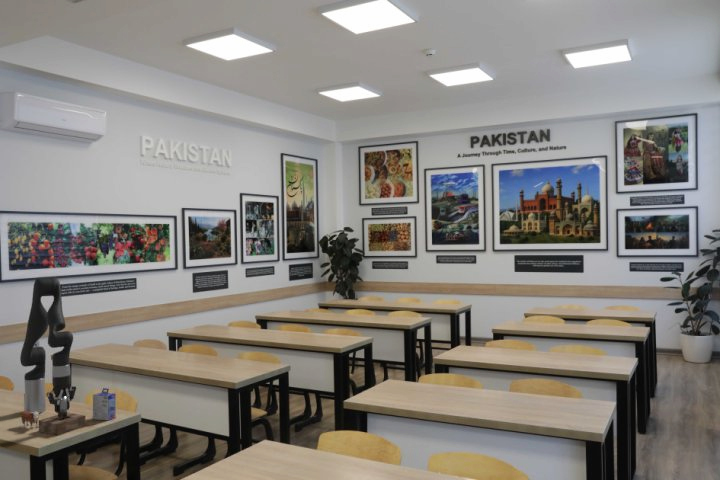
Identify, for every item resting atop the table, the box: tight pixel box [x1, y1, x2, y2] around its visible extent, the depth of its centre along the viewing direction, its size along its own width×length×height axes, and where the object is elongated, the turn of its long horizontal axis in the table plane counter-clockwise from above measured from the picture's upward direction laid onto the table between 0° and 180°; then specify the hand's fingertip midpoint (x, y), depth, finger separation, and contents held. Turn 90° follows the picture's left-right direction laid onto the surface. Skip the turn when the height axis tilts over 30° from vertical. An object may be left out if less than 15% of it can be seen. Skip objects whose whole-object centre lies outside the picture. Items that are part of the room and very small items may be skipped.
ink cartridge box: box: [92, 387, 117, 422], centre depth 282 cm, size 10×6×14 cm, turn 72°
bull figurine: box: [20, 410, 42, 429], centre depth 271 cm, size 4×13×8 cm, turn 58°
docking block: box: [38, 411, 87, 436], centre depth 268 cm, size 14×14×5 cm
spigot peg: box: [57, 396, 68, 417], centre depth 268 cm, size 4×4×9 cm
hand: (62, 410), depth 268 cm, fingers closed on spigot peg, 4 cm apart
